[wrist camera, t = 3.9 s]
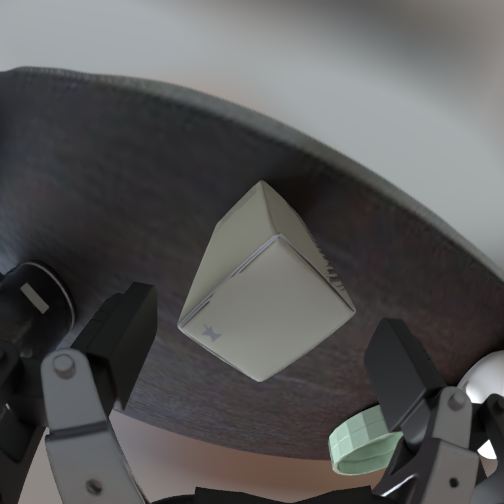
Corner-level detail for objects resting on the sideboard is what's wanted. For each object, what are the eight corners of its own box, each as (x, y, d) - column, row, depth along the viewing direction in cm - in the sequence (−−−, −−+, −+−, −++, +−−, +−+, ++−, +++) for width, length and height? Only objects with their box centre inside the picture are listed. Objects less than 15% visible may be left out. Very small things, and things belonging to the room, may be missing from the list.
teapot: (416, 404, 31) (440, 459, 22) (473, 334, 26) (514, 389, 16) (482, 399, 34) (503, 436, 24) (524, 345, 29) (553, 381, 19)
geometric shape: (468, 403, 42) (453, 460, 33) (509, 376, 32) (499, 445, 23) (502, 415, 37) (490, 468, 28) (542, 390, 26) (535, 452, 17)
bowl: (314, 451, 36) (318, 479, 31) (352, 399, 30) (362, 433, 25) (391, 443, 36) (398, 466, 31) (437, 391, 31) (451, 417, 26)
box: (255, 260, 22) (256, 390, 11) (214, 223, 21) (167, 332, 9) (304, 214, 21) (363, 316, 9) (263, 173, 20) (278, 229, 8)
